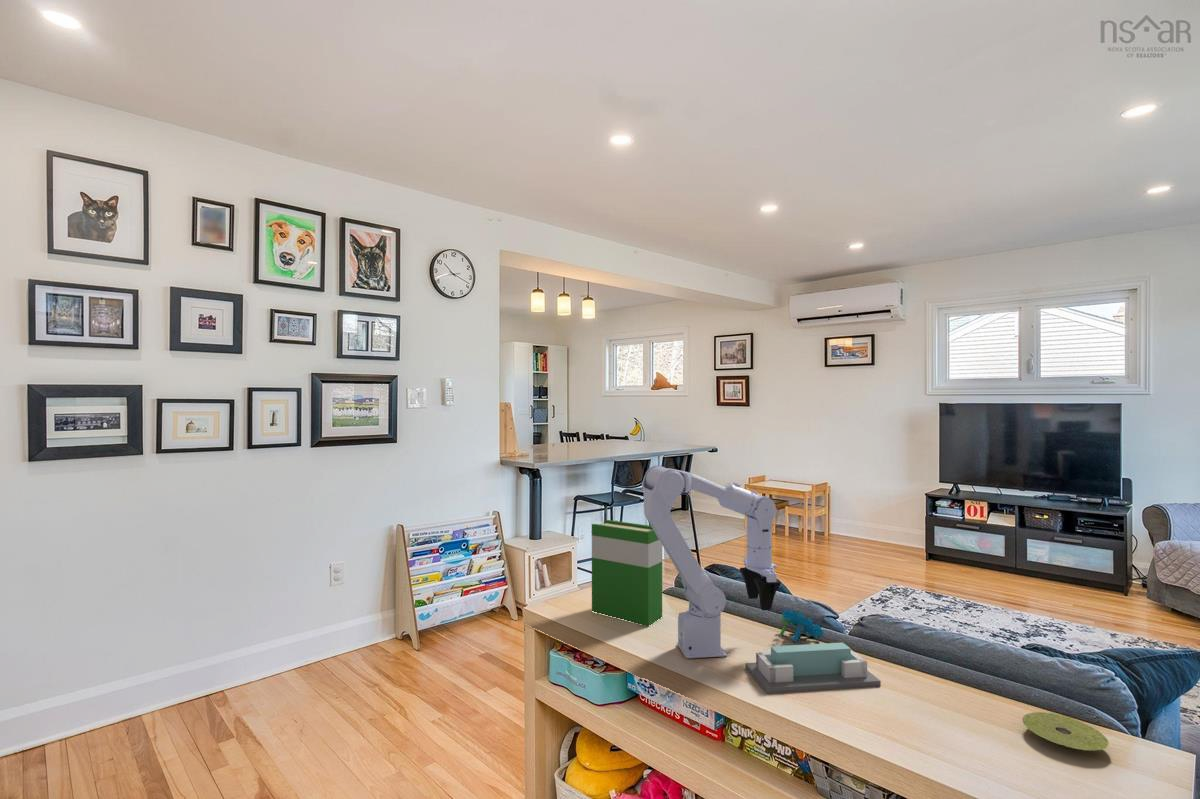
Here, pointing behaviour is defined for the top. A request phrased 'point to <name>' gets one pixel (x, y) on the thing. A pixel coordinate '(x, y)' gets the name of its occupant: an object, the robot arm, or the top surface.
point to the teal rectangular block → (812, 658)
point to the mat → (1065, 731)
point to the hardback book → (627, 572)
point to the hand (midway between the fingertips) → (759, 603)
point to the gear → (799, 625)
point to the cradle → (809, 676)
